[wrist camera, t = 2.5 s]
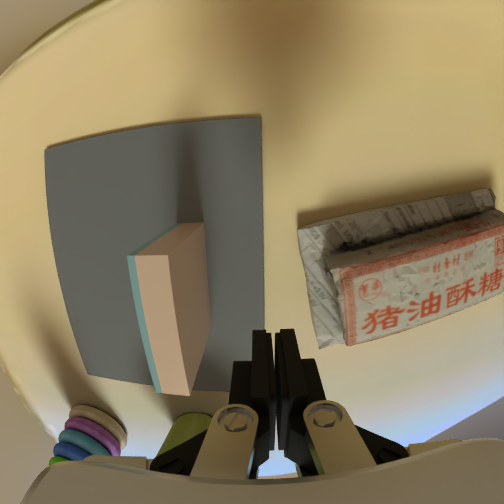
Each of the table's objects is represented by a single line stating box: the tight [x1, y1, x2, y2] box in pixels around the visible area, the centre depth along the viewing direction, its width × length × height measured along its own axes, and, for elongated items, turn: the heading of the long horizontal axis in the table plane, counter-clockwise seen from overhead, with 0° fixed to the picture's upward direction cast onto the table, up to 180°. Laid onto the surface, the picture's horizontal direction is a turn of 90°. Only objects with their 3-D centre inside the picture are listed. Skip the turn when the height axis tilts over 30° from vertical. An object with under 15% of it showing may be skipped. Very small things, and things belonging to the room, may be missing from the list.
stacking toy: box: [49, 405, 127, 466], centre depth 18 cm, size 8×8×19 cm
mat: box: [45, 118, 264, 392], centre depth 21 cm, size 18×22×1 cm
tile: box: [127, 222, 212, 396], centre depth 17 cm, size 2×8×8 cm, turn 2°
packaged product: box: [297, 189, 504, 349], centre depth 18 cm, size 18×5×10 cm
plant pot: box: [155, 413, 212, 458], centre depth 22 cm, size 9×9×9 cm
